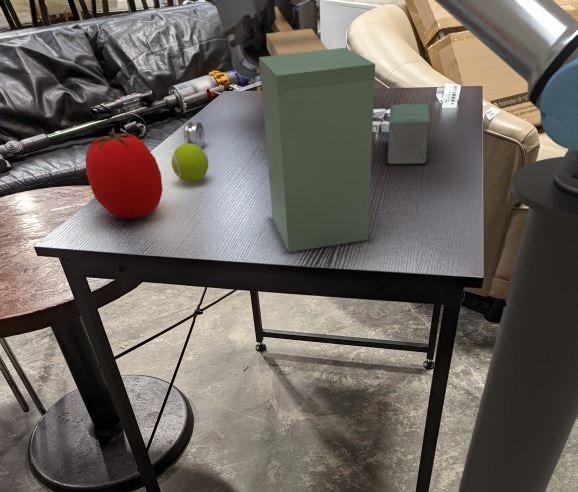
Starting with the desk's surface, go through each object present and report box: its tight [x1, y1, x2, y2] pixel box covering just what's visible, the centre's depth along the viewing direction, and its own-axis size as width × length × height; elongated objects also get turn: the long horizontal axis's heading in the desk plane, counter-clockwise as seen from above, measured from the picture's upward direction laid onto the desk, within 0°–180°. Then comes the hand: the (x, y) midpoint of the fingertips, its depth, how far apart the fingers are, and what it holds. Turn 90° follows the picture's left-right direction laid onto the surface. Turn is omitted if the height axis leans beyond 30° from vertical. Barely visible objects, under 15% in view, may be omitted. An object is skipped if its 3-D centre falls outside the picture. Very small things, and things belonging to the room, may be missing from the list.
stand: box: [259, 47, 376, 253], centre depth 73 cm, size 12×12×22 cm
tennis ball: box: [171, 143, 209, 183], centre depth 97 cm, size 7×7×7 cm
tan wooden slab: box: [266, 7, 328, 56], centre depth 80 cm, size 22×7×2 cm, turn 14°
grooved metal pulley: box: [183, 121, 206, 149], centre depth 113 cm, size 5×3×5 cm, turn 166°
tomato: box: [85, 127, 164, 220], centre depth 85 cm, size 12×12×13 cm
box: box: [387, 103, 431, 165], centre depth 102 cm, size 7×14×8 cm, turn 171°
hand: (280, 7), depth 80 cm, fingers closed on tan wooden slab, 2 cm apart
